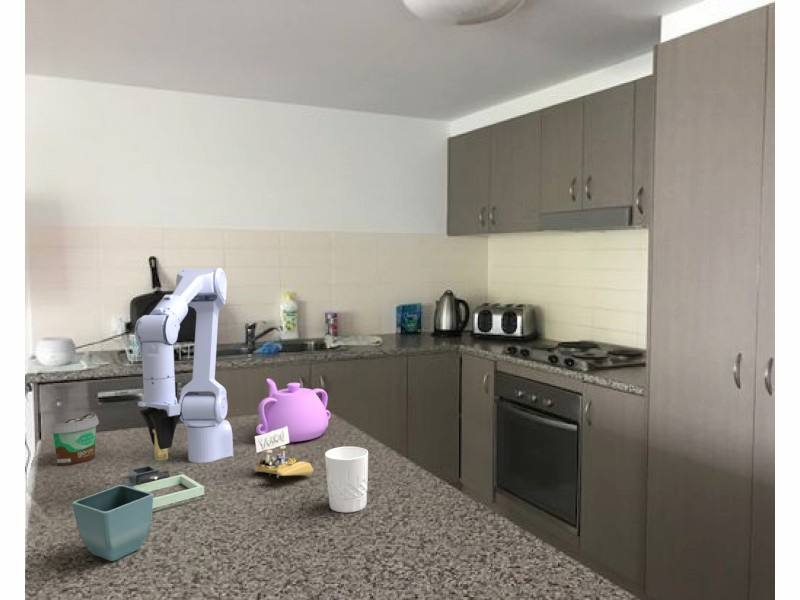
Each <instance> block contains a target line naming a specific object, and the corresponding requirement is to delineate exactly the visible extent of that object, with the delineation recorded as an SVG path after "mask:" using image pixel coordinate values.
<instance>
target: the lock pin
mask: <svg viewBox="0 0 800 600" xmlns="http://www.w3.org/2000/svg"><path fill="white" fill-rule="evenodd" d="M153 433H154V437H155V446H154V460H155V461H160V462H161V461H166V460H168V459H169V448H166V449H160V448H159V446H158V441H157V435H156V431H155V427H154V428H153Z"/></svg>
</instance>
